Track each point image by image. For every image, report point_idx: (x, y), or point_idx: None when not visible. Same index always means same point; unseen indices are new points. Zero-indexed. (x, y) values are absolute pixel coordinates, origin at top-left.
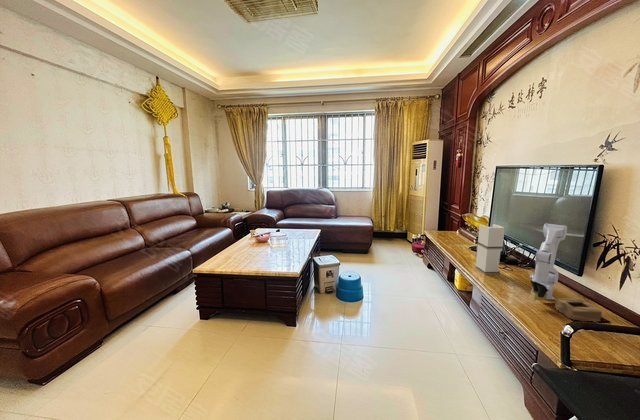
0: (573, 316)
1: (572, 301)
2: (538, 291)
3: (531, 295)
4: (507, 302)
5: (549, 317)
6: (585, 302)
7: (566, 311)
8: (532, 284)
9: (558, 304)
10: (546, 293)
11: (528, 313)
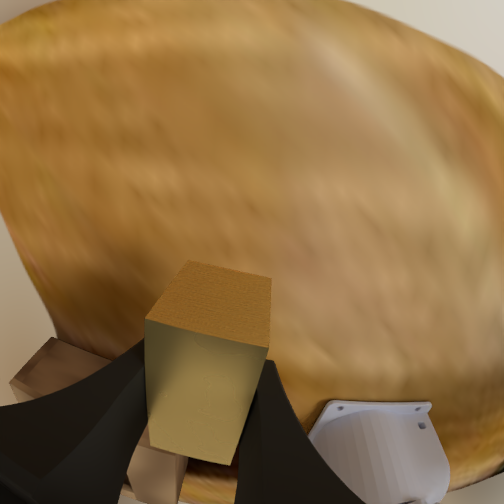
0: (35, 354)
1: (130, 475)
2: (118, 389)
3: (247, 289)
4: (329, 33)
5: (59, 227)
6: (134, 497)
7: (80, 377)
8: (311, 488)
9: None
10: (154, 444)
11: (110, 89)
